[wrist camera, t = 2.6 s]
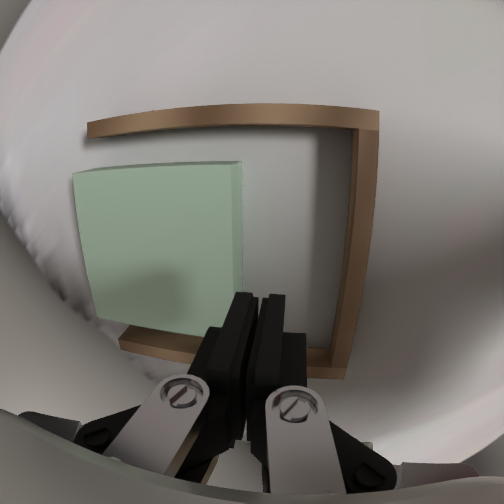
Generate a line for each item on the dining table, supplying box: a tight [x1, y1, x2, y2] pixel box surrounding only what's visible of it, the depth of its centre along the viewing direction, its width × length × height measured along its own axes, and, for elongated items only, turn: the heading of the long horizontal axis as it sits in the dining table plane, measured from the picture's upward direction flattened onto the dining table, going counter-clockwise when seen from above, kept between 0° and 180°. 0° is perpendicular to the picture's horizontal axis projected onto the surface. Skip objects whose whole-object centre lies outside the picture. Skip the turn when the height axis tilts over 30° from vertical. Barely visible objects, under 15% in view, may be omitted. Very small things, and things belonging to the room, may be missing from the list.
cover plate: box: [72, 161, 243, 337], centre depth 18 cm, size 10×10×3 cm
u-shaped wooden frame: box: [87, 104, 379, 379], centre depth 17 cm, size 16×16×2 cm
